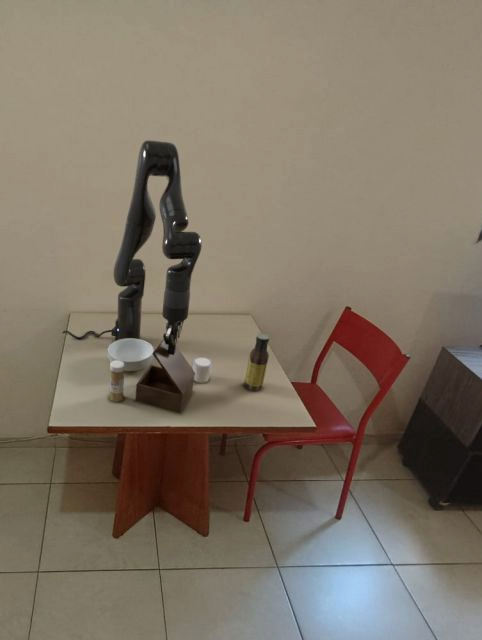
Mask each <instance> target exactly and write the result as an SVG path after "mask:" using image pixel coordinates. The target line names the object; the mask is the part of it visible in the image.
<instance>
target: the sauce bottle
mask: <svg viewBox="0 0 482 640" xmlns="http://www.w3.org/2000/svg"><path fill="white" fill-rule="evenodd" d="M269 342H270V336H269V335H268V334H266V333H258V334H256V337H255V345H254V348H252V350H251V351H250V353H249V357H248V360H247V361H248V362H247V367H246V371H245V378H244V386H245V388H246V389H247V390H250V391H253V392H256V391H257V392H258V391H260V390H261V389H262V388H263V385H264V381H265V377H266V373H267V368H268V363H269V359H270V355H269V352H268V343H269Z"/></svg>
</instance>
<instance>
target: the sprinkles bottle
mask: <svg viewBox="0 0 482 640" xmlns="http://www.w3.org/2000/svg"><path fill="white" fill-rule="evenodd" d="M124 369H125V364H124V363H123V362H122V361H113V362H110V364H109V370H110V380H109V381H110V382H109V387H110V388H109V390H110V391H109V399H110V400H111V401H112V402H116V403H117V402H121V401H123V400H124V386H125V370H124Z"/></svg>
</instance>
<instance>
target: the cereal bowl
mask: <svg viewBox="0 0 482 640" xmlns="http://www.w3.org/2000/svg"><path fill="white" fill-rule="evenodd" d="M154 351H155V349H154V347H153V345H152V344H151V343H150V342H148V341H146V340H144V339H141V338H140V339H134V338H127V339H120V340H117V341H115V340H114V341H112V343H110V344H109V346H108V348H107V356H108V360H109V362H110V363H111V362H113V361H122V362H123V363H124V364H125V369H124V372H125V371H126V372H136V371H140V370H143V369H145V368H147V367H149V366H150V365H151V363H152V361H153V358H154V355H153V354H152V353H153V352H154Z"/></svg>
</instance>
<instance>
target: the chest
mask: <svg viewBox="0 0 482 640" xmlns="http://www.w3.org/2000/svg"><path fill="white" fill-rule="evenodd" d="M193 388H194V377H193V379H192V381H191V382H190V384H189V386H188V388H187V389H186V391H185V393H184V395H182V396H181V394H180V393H179V391H178V390H177V389H176V387H175V386H174V384H173V383H172V381H171V380H170V378H169V377H168V376H167V374H166V373H165V371H164V370H163V368H162V367H161V366H159V365H154V364H150V365H149V366H148V368H147V370H146V371H144V374H143V375H142V376H141V377H140V379H139V380H138V381H137V383H136V386H135V402H138V403H141V404H144V405H148V406H152V407H155V408H159V409H163V410H166V411H170V412H174V413H177V414H182V411H183V409H184V407H185V405H186V403H187V402H188V400H189V398H190V396H191V395H192V393H193Z"/></svg>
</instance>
